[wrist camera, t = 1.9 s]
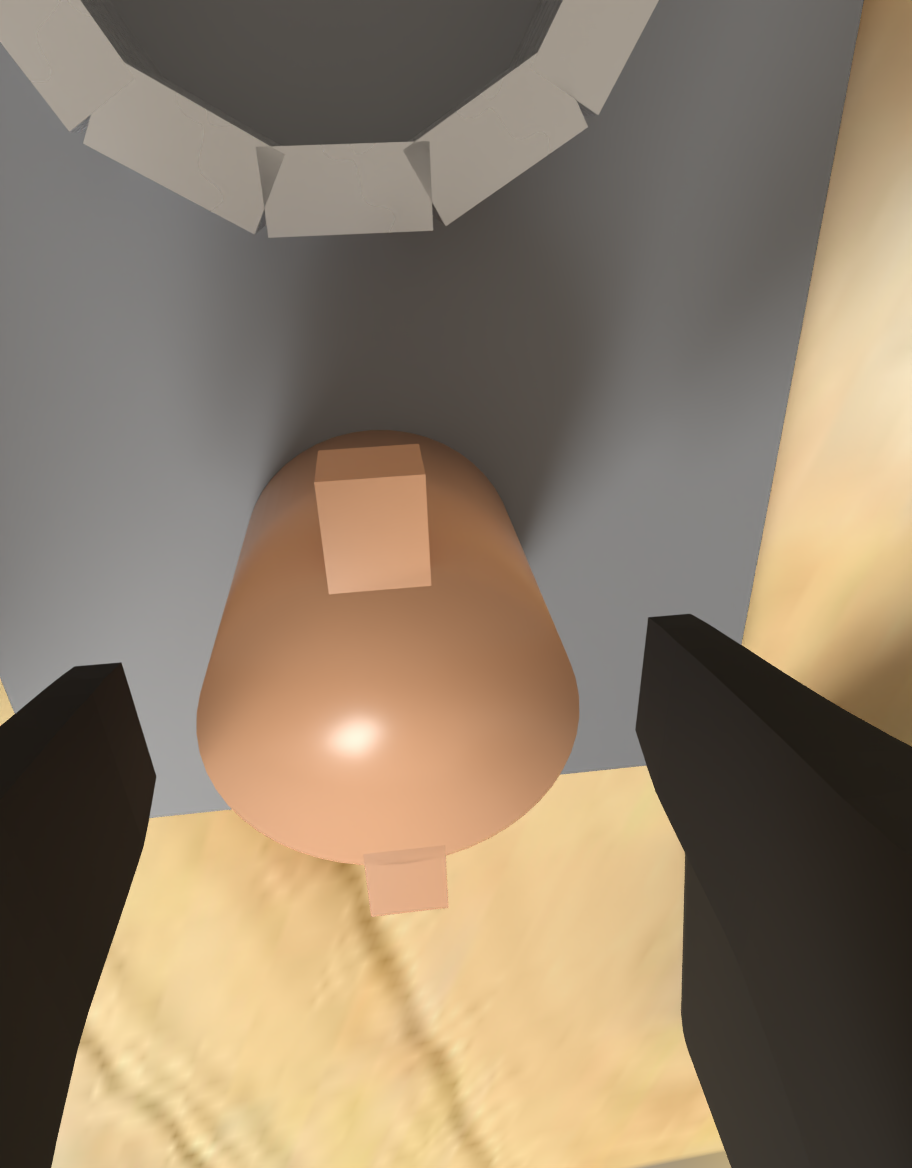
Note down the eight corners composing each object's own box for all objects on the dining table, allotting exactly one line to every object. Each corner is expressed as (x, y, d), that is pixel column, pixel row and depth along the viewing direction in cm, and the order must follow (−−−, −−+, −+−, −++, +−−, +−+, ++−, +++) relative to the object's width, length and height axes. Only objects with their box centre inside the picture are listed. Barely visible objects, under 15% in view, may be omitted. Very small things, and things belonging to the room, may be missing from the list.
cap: (275, 720, 16) (246, 931, 12) (210, 374, 12) (132, 494, 8) (511, 697, 16) (567, 892, 12) (514, 356, 13) (596, 462, 8)
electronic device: (677, 1029, 25) (842, 1479, 17) (682, 822, 20) (921, 1311, 12) (799, 1005, 26) (1024, 1440, 17) (833, 793, 21) (1178, 1257, 12)
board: (76, 794, 18) (61, 827, 17) (-633, -1056, 7) (-783, -1240, 6) (703, 729, 19) (720, 757, 18) (984, -913, 8) (1061, -1044, 7)
